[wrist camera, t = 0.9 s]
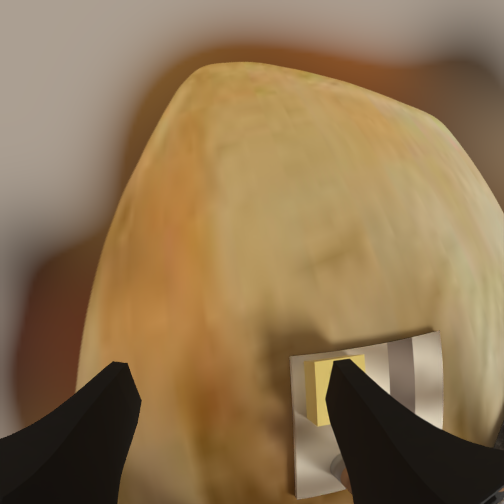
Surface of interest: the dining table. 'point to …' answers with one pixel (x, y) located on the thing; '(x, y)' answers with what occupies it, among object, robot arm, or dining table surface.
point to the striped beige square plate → (388, 378)
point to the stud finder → (322, 386)
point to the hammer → (501, 444)
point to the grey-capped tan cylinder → (340, 472)
